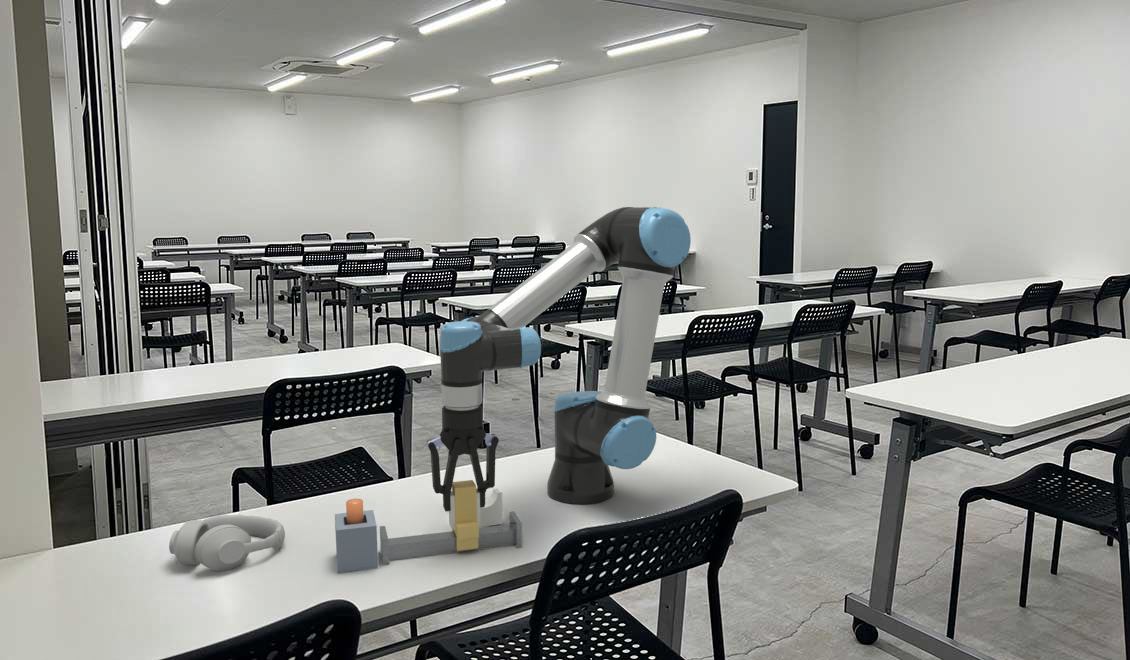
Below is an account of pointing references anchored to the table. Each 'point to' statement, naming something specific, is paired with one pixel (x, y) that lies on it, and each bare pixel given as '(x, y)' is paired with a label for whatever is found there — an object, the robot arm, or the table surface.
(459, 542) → the carriage
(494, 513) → the bracket
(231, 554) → the headphones
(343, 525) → the housing
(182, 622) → the table surface
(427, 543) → the rail
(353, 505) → the plunger
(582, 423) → the robot arm
